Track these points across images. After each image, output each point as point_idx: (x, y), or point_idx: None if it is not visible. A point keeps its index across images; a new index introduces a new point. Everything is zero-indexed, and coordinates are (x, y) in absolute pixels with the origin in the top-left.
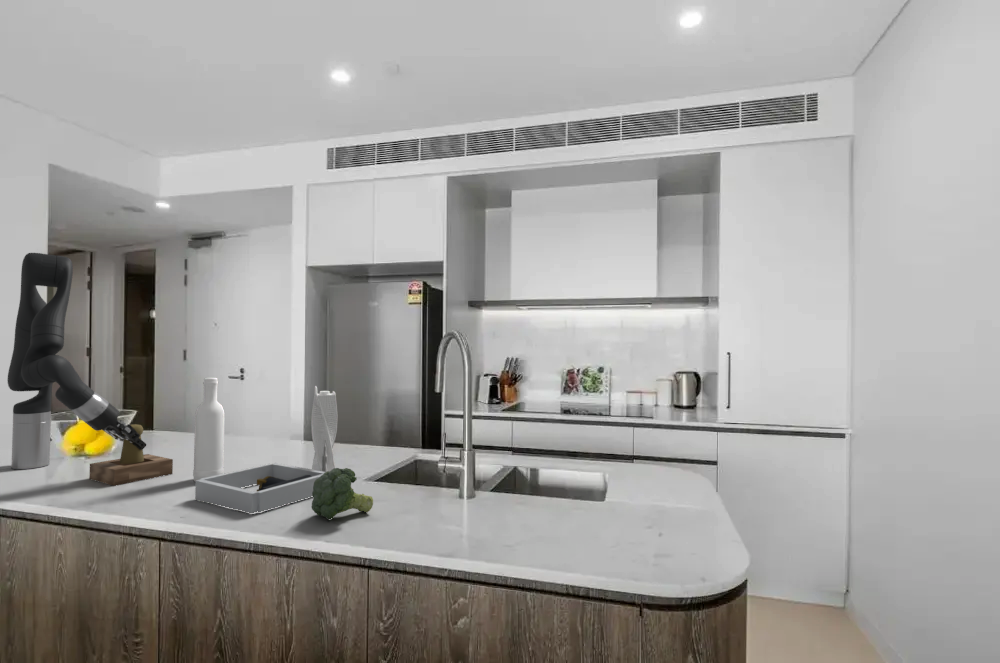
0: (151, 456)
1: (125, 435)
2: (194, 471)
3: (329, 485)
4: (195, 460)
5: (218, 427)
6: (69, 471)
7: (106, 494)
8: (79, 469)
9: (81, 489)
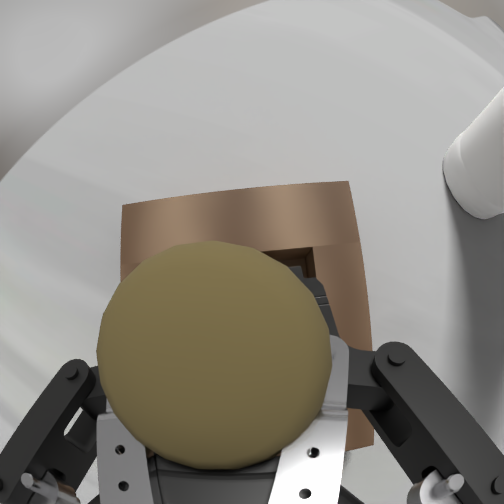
0: (191, 214)
1: (410, 474)
2: (499, 209)
3: None
4: None
5: None
6: (23, 394)
7: None
8: (17, 366)
9: None
